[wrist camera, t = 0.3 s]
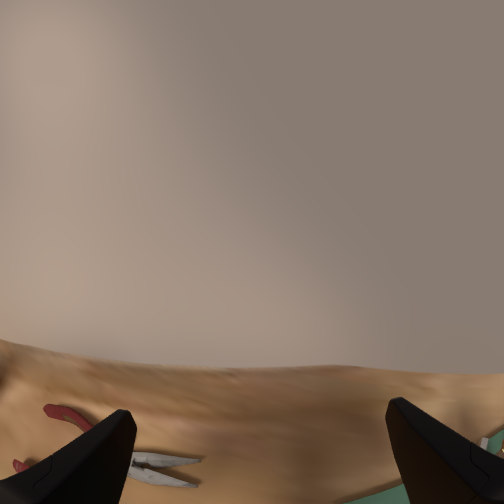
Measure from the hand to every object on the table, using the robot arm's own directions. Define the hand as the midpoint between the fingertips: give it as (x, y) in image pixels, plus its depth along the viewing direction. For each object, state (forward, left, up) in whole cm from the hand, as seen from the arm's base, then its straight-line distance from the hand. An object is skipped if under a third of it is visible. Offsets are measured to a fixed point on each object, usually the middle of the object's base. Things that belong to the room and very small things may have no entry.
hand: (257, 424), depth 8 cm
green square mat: (-9, -15, -16) cm, 24 cm away
